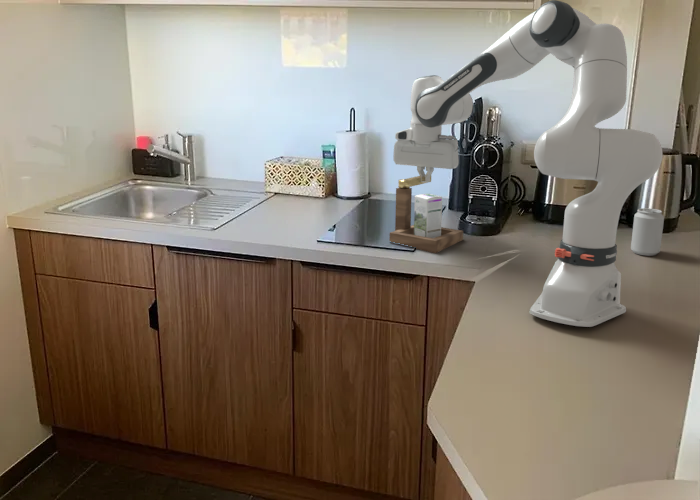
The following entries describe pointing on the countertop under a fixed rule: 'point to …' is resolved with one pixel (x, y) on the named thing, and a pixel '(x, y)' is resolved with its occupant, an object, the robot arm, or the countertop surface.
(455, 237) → the holder
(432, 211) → the syrup box
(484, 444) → the countertop surface
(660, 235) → the can
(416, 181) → the bar
